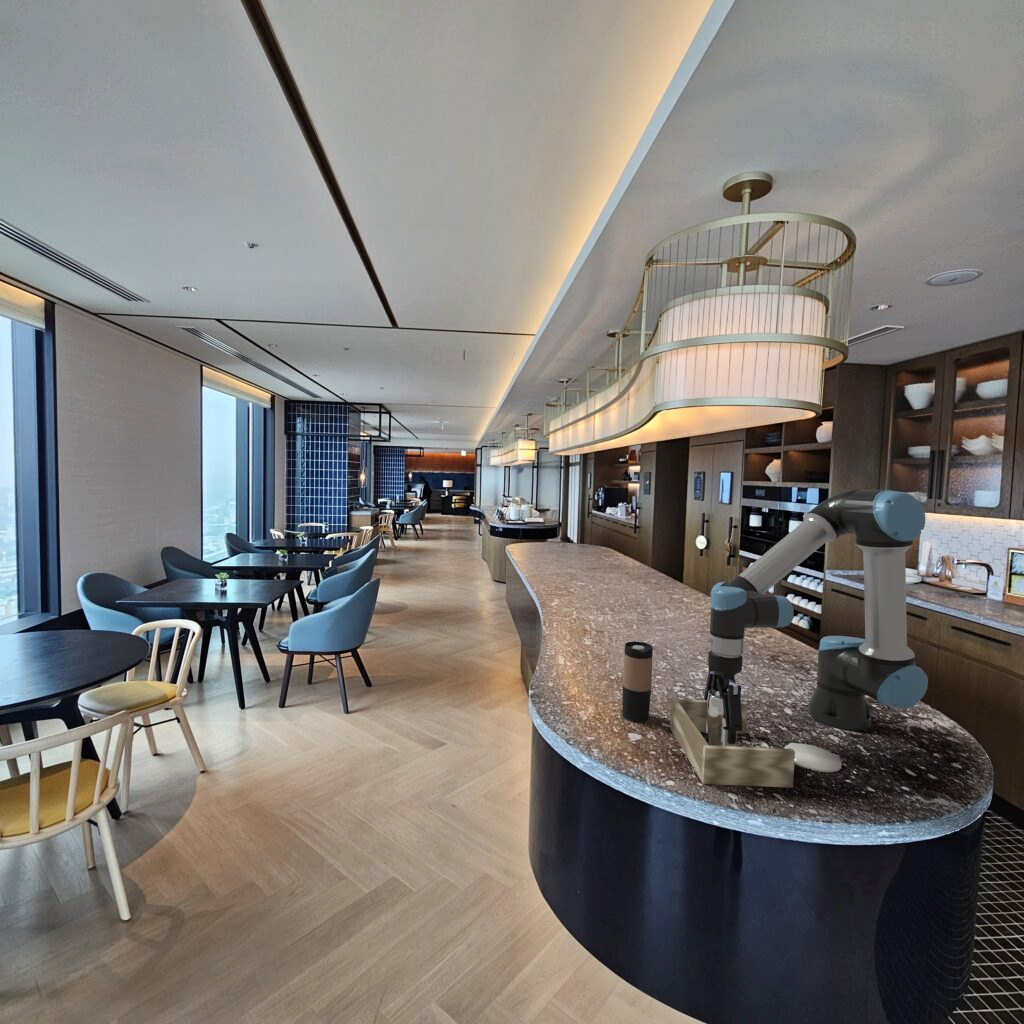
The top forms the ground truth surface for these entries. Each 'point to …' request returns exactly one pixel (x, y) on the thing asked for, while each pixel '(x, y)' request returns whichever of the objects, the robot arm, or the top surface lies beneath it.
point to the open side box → (728, 752)
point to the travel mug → (637, 681)
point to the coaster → (815, 758)
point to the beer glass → (715, 718)
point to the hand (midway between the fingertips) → (720, 743)
